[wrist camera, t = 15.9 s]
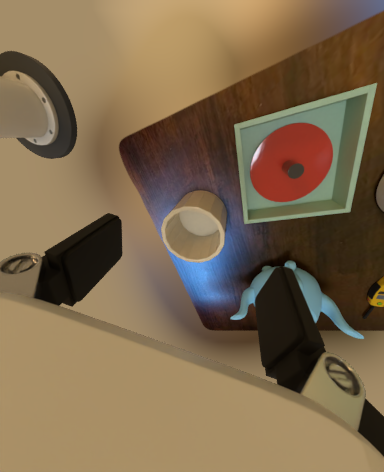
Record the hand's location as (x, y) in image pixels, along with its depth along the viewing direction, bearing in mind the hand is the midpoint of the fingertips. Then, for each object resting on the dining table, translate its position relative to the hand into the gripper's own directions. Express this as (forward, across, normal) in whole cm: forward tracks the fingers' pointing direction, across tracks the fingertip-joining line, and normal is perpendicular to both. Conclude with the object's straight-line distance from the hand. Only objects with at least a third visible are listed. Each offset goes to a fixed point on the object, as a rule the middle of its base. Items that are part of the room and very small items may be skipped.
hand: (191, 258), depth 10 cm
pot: (+30, +2, +12) cm, 32 cm away
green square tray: (+30, -11, -4) cm, 33 cm away
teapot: (+31, -23, +24) cm, 45 cm away
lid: (+29, -12, -4) cm, 32 cm away
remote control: (+31, -46, +20) cm, 59 cm away
